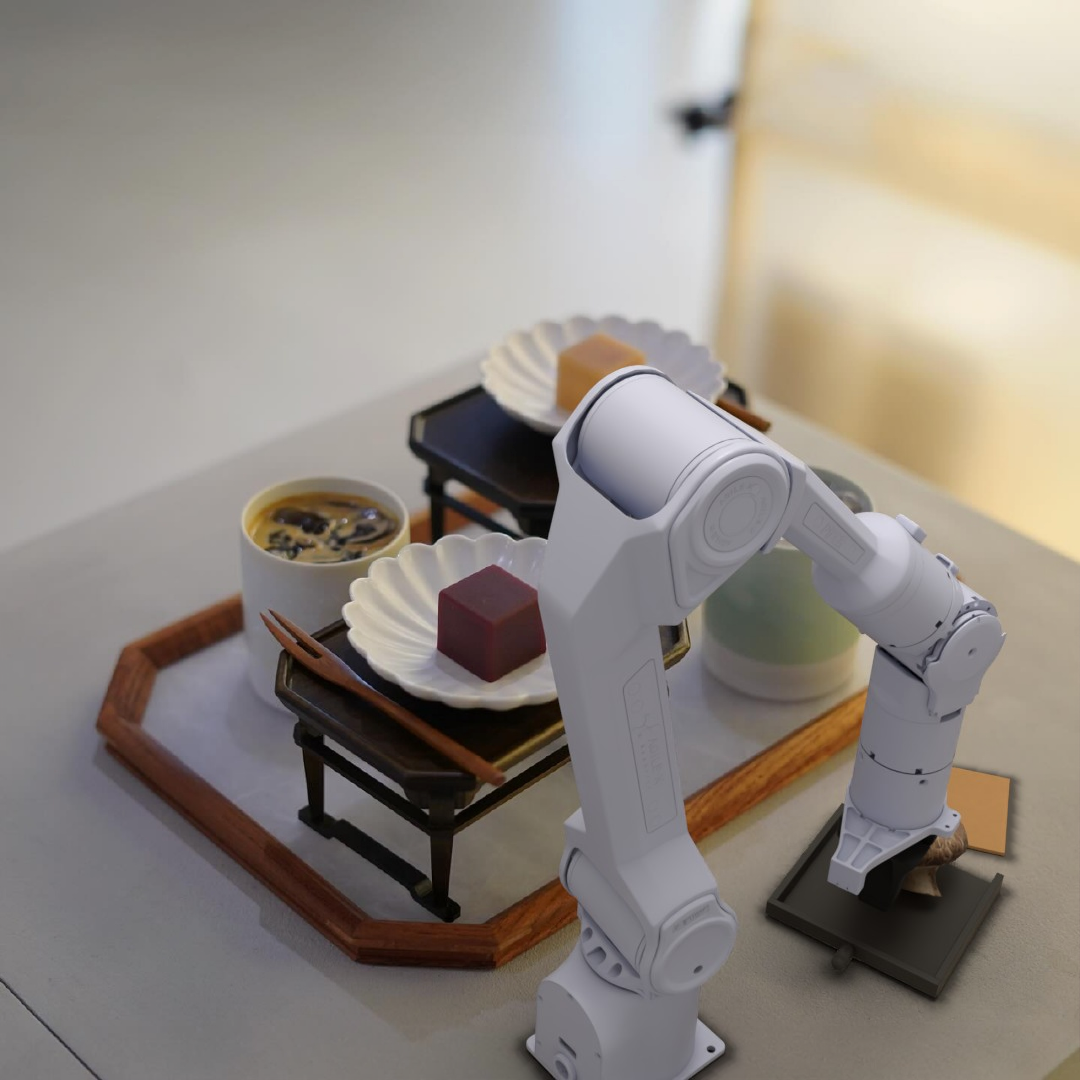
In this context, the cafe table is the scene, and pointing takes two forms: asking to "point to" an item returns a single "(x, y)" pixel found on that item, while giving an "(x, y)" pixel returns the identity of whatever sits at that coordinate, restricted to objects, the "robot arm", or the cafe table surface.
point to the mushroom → (936, 862)
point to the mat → (980, 808)
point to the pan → (884, 917)
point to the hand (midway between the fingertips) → (875, 900)
